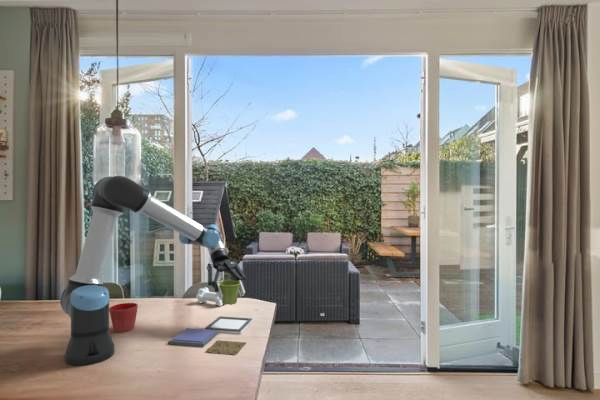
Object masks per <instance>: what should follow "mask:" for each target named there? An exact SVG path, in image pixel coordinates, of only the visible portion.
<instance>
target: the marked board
mask: <svg viewBox="0 0 600 400" xmlns="http://www.w3.org/2000/svg"><path fill="white" fill-rule="evenodd" d="M253 322H254V319H253V318H249V317H237V316H235V317H233V316H218V317H217V318H215V319H214V320H213V321H212V322H211V323H209V324H208V325H207V326H205V328H204V329H206V330H219V333H220V332H221V334H222V333H223V334H234V335H235V334H236V335H242V333H243V332H244V331H245V330H246V329H247V328H249V326H250V325H251V324H252V323H253Z"/></svg>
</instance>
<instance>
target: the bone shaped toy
mask: <svg viewBox="0 0 600 400" xmlns="http://www.w3.org/2000/svg"><path fill="white" fill-rule="evenodd" d="M195 296H196V297H195V298H196V299H197V302H198V303H199V302H201V303H203V302H204V303H207V302H206V301H208V302H212V303H213V302H214V303H215V306H216V305H218V306H220V307H222V306H224V305H223V304H222V299H221V300H220V299H219V296H218V293H217V292H215V291H214V292H213V291H210V290H209V288H208V287H203V288H199V289H198V292H197V294H196V295H195ZM204 303H203V304H204ZM218 306H217V307H218Z"/></svg>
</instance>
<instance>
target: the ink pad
mask: <svg viewBox="0 0 600 400" xmlns="http://www.w3.org/2000/svg"><path fill="white" fill-rule="evenodd" d="M219 334H220V332H219V330H206V329H205V328H193V327H192V328H191V327H187V328H185V329H184V330H182V331H181V332H179V333H178V334H176V335H175V336H174V337H172V338H171V339H169V340H168V345H174V344H176V345H177V346H187V345H188V346H189V347H200V348H204V347H205V346H206V345H208V344H209V343H210V342H211V341H212V340H213V339H214V338H216V337H217V335H219Z"/></svg>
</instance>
